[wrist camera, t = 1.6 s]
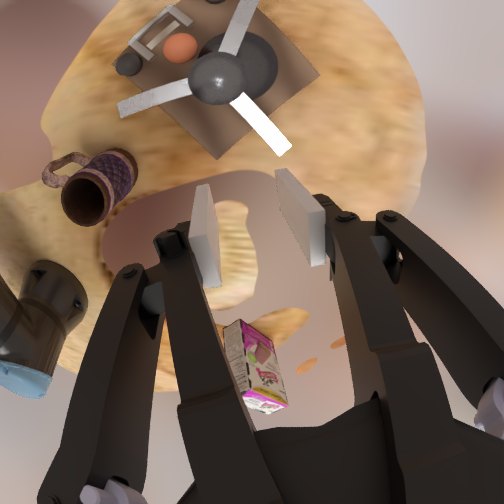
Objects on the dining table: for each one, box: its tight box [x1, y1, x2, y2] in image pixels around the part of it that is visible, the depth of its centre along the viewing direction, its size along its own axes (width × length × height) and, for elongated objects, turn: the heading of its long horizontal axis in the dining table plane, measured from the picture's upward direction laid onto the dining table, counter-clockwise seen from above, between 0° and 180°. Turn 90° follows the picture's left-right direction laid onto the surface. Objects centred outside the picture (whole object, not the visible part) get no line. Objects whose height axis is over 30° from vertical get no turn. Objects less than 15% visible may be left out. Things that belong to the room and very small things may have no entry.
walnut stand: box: [112, 0, 321, 160], centre depth 26 cm, size 18×20×4 cm
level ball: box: [163, 33, 198, 63], centre depth 23 cm, size 4×4×4 cm
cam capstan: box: [117, 0, 292, 156], centre depth 26 cm, size 19×16×8 cm
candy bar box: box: [223, 319, 288, 414], centre depth 48 cm, size 11×5×16 cm, turn 39°
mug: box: [42, 148, 138, 227], centre depth 28 cm, size 10×7×12 cm
